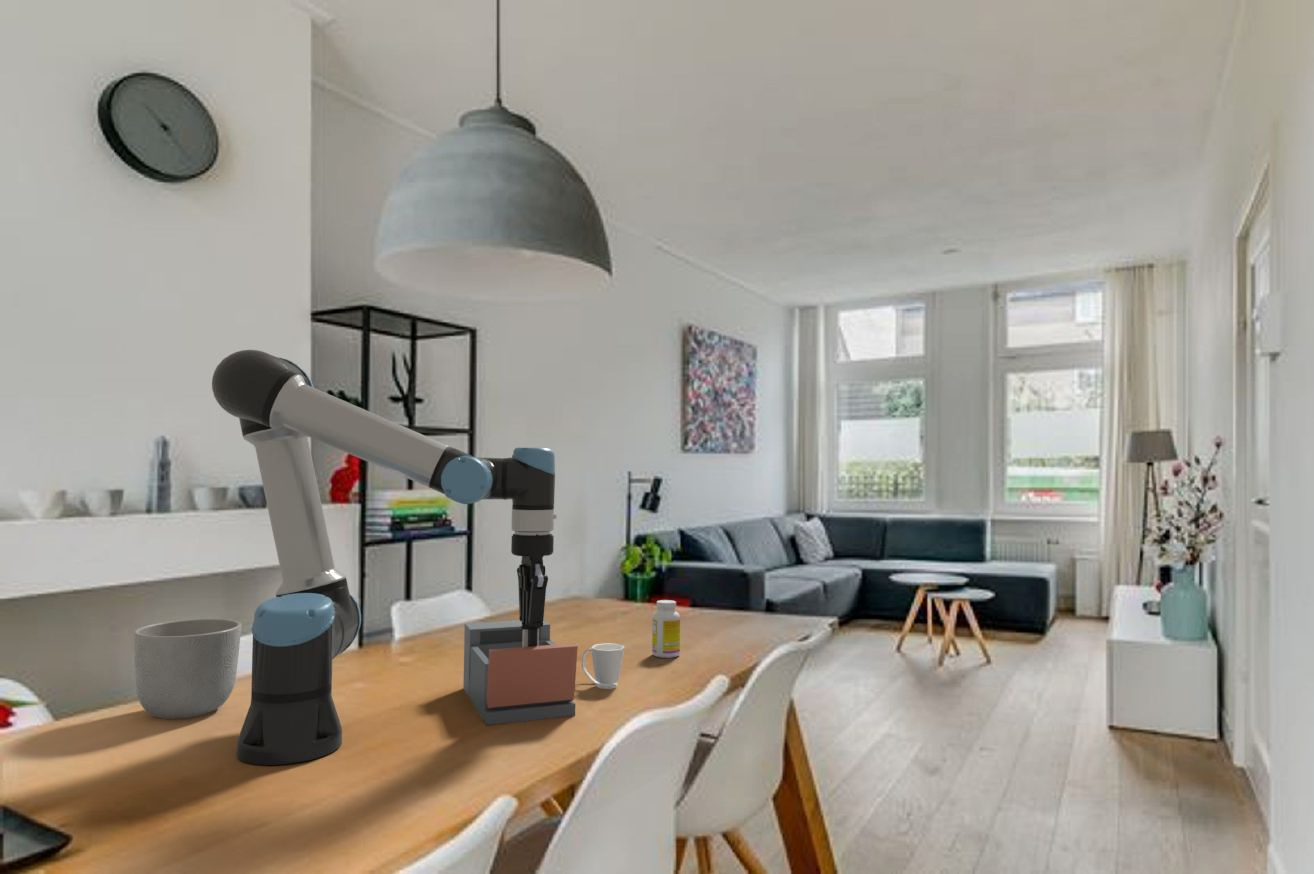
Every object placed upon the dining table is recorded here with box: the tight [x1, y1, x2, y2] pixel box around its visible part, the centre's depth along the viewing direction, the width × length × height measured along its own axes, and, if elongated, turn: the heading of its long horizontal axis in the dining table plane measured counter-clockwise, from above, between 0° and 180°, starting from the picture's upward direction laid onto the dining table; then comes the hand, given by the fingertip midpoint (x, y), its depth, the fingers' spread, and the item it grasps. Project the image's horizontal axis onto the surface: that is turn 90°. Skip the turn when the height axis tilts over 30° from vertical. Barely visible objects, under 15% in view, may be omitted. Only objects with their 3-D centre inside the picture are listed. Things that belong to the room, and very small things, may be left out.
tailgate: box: [486, 643, 579, 709], centre depth 145 cm, size 16×2×10 cm, turn 112°
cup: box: [581, 642, 625, 690], centre depth 168 cm, size 7×10×8 cm
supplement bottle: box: [651, 599, 681, 659], centre depth 195 cm, size 7×7×13 cm
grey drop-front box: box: [468, 639, 576, 726], centre depth 153 cm, size 16×18×10 cm
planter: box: [132, 618, 243, 720], centre depth 147 cm, size 17×17×15 cm
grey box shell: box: [462, 619, 551, 698], centre depth 164 cm, size 16×7×13 cm, turn 112°
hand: (530, 664), depth 146 cm, fingers closed
